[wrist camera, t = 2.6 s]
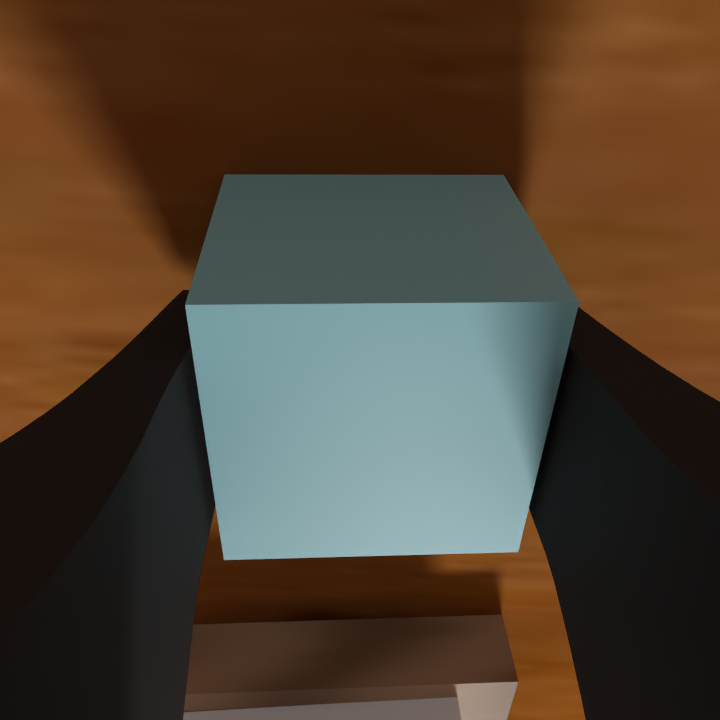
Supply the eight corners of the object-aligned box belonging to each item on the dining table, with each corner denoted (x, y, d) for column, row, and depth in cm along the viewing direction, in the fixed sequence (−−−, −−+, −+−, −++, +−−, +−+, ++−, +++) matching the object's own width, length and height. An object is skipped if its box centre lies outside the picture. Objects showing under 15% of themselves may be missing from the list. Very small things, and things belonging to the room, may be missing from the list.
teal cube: (503, 174, 11) (579, 301, 8) (470, 390, 14) (518, 552, 10) (224, 173, 11) (185, 304, 8) (246, 393, 13) (223, 560, 10)
